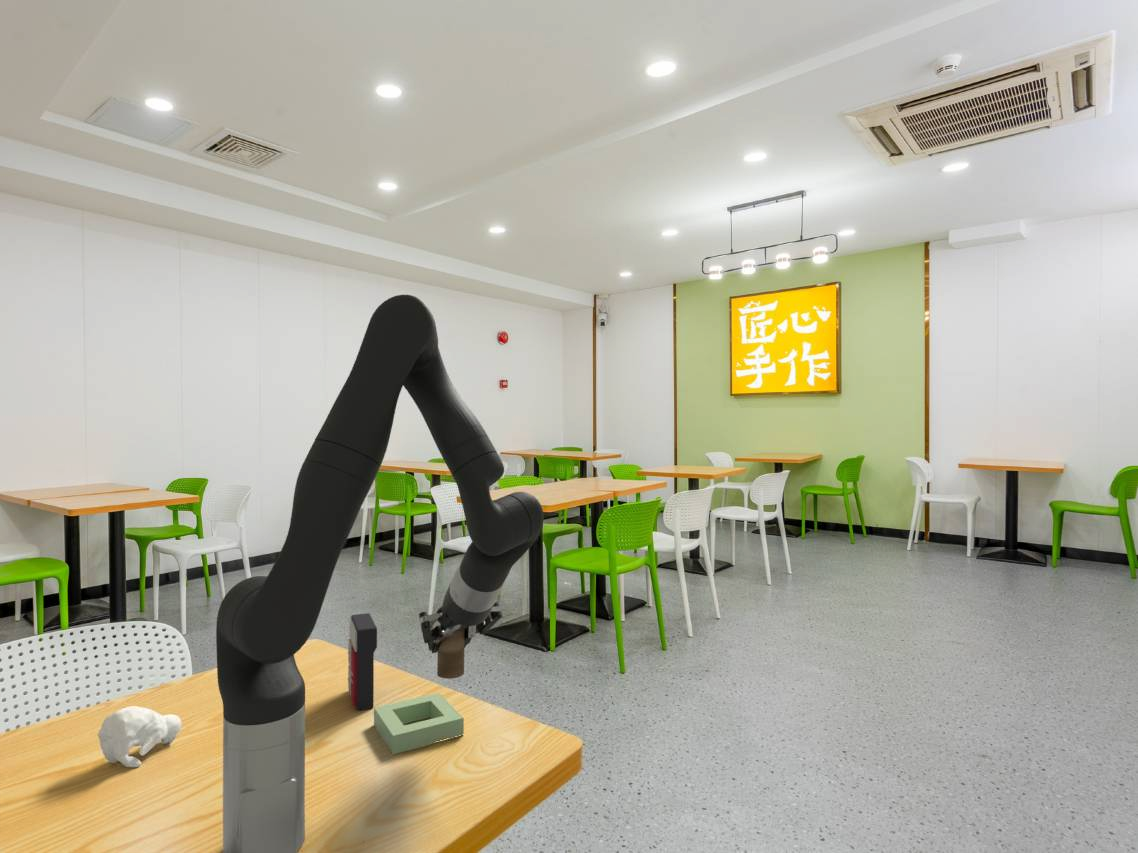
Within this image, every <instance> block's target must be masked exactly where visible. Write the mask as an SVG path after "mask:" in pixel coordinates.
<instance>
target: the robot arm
mask: <svg viewBox="0 0 1138 853" xmlns="http://www.w3.org/2000/svg"><path fill="white" fill-rule="evenodd" d="M437 331H438V330H437V325H436V321H435V318H434V315H433V312H432V311H431V309H430V308H429V306H428V304H426V303H425V302H424V301H423V300H422V299H421V298H419V297H417V296H414V295H412V294H397V295H394V296H392V297H390V298H388V299H386V300H384V301H382V303H381V304H380V305H379V306H377V307H376V309H375V310H374V312H373V313H372V315H371V317H370V320H369V323H368V324H367V327H366V331H365V333H364V336H363V339H362V341H361V344H360V347H359V350H358V352H357V355H356V358H355V361H354V362H353V366H352V369H351V370H350V372H349V374H348V377H347V378H346V380H345V382H344V384H343V386H342V387H341V389H340V392H339V394H338V395H337V397H336V399H335V401H334V403H333V404H332V406H331V409H330V411H329V413H328V414H327V416H326V418H325V421H324V422H323V424H322V425H321V428H320V429H319V431H318V433H317V435H316V436H315V438H314V440H313V443H312V445H311V447H310V449H309V450H308V453H307V454H306V457H305V459H304V460H303V463H302V464H301V467H300V470H299V472H298V475H297V479H296V482H295V486H294V493H293V500H292V507H291V508H292V509H291V516H290V522H289V528H288V530H287V535H286V537H285V541H284V543H283V545H282V548H281V550H280V552H279V554H278V555H277V556H278V557H276V560H275V562H274V564H273V565H272V568H271V569H270V571H269V573H268V575H256V576H250V577H248V578H245V579H243V580H241V581H239V582H238V583H236V584H235V585H234V586H232V588H230V589H229V590H228V592H227V593H226V594H225V595H224V597H223V598H222V601H221V603H220V606H219V608H218V611H217V616H216V617H217V618H216V628H215V634H216V635H215V638H216V639H215V641H216V644H215V646H216V670H217V672H216V673H217V674H216V675H217V685H218V691H219V694H220V697H221V700H222V701H221V702H222V711H223V715H222V716H223V718H222V719H223V720H222V724H223V726H222V729H223V730H222V732H223V734H222V737H223V738H222V853H298V851H299V850H300V849H301V847H302V845H303V843H304V842H305V838H306V837H305V836H306V802H305V800H306V798H305V796H306V779H305V778H306V684H305V680H304V678H303V676H302V673H301V672H300V670H299V668H298V665H297V662H296V659H295V654H296V653H298V652H299V651H300V650H301V649H302V648H303V646H304V645H305V644H306V643H307V642H308V639H310V637H311V634H312V633H313V631H314V629H315V626H316V624H317V621H318V618H319V616H320V613H321V609H322V608H323V605H324V600H325V597H326V594H327V591H328V589H329V587H330V586H329V585H330V582H331V580H332V577H333V573H334V571H335V568H336V565H337V562H338V561H339V557H340V555H341V554H342V551H343V549H344V547H345V544H346V542H347V541H348V538H349V536H350V533H351V532H352V528H353V527H354V524H355V522H356V520H357V517H358V515H359V514H360V511H361V508H362V506H363V504H364V502H365V500H366V498H367V497H368V494H369V492H370V490H371V488H372V486H373V484H374V481H375V479H376V477H377V476H378V475H377V474H378V472H379V470H380V467H381V466H382V463H383V462H384V458H385V456H386V452H387V449H388V445H389V442H390V437H391V433H392V427H393V426H394V425H393V424H394V420H395V419H394V418H395V413H396V409H397V405H398V401H399V398H400V397H399V396H400V395H401V391H402V388H403V387H404V389H405V390H406V391H407V393H408V395H409V396H410V397H411V399H412V400H413V402H414V404H415V406H416V407H417V408H418V410H419V412H420V414H421V416H422V418H423V420H424V422H425V425H426V426H427V428H428V430H429V433H430V434H431V437H432V439H433V441H434V443H435V445H436V448H437V449H438V452H439V453H440V455H441V457H442V459H443V461H444V464H445V465H446V467H447V468H448V470H449V472H450V474H451V476H452V478H453V480H454V481H455V484H456V486H457V489H458V493H459V497H460V501H461V504H462V509H463V513H464V517H465V524H466V529H467V532H468V535H469V538H470V540H471V543H470V544H469V545H468V547H467V549H466V551H465V554H464V556H463V558H462V560H461V562H460V564H459V565H458V566H457V568H456V570H455V572H454V573H453V576H452V578H451V581H450V583H449V586H448V588H447V590H446V591H445V594H444V597H443V601H442V605H441V606H440V607H439V608H438V609H437V610H436V613H431V614H428V613H427V612H426V611H422V612H420V613H419V614H418V618H419V625H420V629H421V634H422V637H423V643H424V644H427V645H428V646H427V648H428V651H429V652H431V653H432V654H435V653H437V654H438V648H439V647H440V645H441V643H442V642H441V641H442V640H443V639H444V638H445V637H446V638H448V637H449V636H450V635H451V634H452V633H453V632H454V631H455V630H458V629H465V648H466V647H467V646H468V645H469V644H470V643H471V640H472V639H473V638H475V637H476V634H479V635H484V634H486V633H487V632H488V631H489V630H490V629H492V627H494V625H495V624H496V623H498V622H499V620H500V619H501V618H502V617H503V614H502V610H501V607H500V605H499V602H497V600H498V599H499V598H498V597H500V594H501V592H502V590H503V586H504V583H505V582H506V579H507V577H508V576H509V574H510V571H511V570H512V567H513V566H514V565H515V564H516V563H517V562H518V561H519V560H520V559H521V558H522V557H523V556H524V555H525V554H526V553H527V551H528V550H529V549H530V548H531V547H532V546H533V544H534V543H535V542H536V541H537V539H538V538H539V536H540V535H541V532H542V530H543V527H544V511H543V507H542V505H541V503H540V501H539V500H538V498H536V496H534V495H533V494H532V493H529V492H526V491H514V492H512V493H509V494H507V495H504V496H502V497H500V498H497V499H494V500H493V499H492V497H491V493H490V492H491V491H490V487H491V486H493V485H494V484H495V483H497V482H498V481H499V480H500V479H501V478H502V477H503V475H504V473H505V466H504V463H503V461H502V460H501V457H500V455H499V453H498V451H497V450H496V448H495V446H494V445H493V442H492V440H490V437H489V436H488V434H487V432H486V430H485V429H484V427H483V425H482V424H481V422H480V421H479V419H478V418H477V416H476V415H475V413H473V411H472V410H471V409H470V408H469V406H468V405H467V404H466V402H465V401H464V400H463V397H461V395H460V394H459V392H458V391H457V389H456V387H455V386H454V384H453V382H452V380H451V378H450V377H449V376H450V375H449V374H448V372H447V369H446V366H445V364H444V361H443V357H442V355H441V352H440V348H439V337H438V332H437Z"/></svg>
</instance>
